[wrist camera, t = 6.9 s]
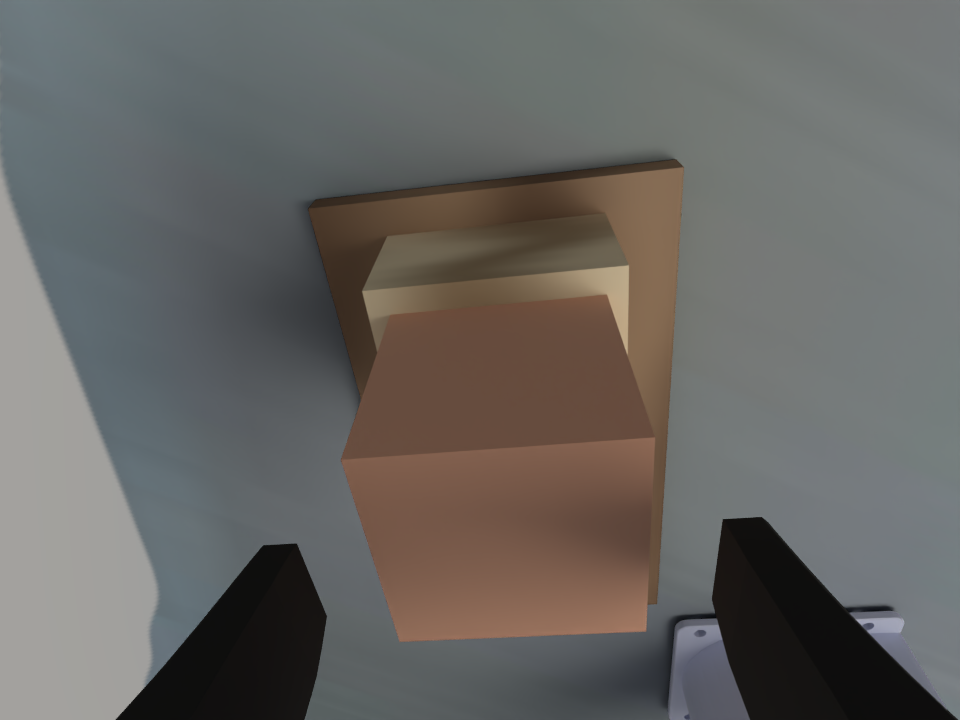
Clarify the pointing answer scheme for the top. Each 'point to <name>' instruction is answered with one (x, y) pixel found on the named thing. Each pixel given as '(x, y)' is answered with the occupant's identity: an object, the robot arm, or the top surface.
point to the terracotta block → (506, 472)
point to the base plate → (612, 190)
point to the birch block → (498, 268)
